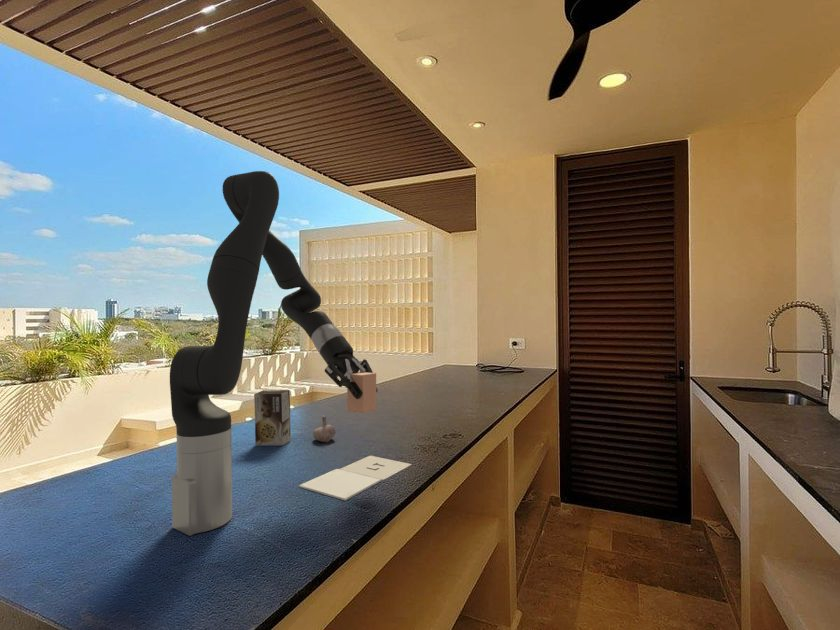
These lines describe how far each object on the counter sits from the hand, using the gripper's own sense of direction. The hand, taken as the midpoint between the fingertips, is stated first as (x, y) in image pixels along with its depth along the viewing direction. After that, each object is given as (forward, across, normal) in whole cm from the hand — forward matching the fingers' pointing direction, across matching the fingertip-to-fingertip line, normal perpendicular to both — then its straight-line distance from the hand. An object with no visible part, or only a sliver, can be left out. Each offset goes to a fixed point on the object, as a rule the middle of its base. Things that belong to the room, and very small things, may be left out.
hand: (367, 394), depth 100 cm
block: (+1, 0, +4) cm, 4 cm away
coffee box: (-18, +6, +45) cm, 49 cm away
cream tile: (+12, +6, +15) cm, 20 cm away
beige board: (+12, -7, +16) cm, 21 cm away
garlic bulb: (-9, +17, +37) cm, 41 cm away
